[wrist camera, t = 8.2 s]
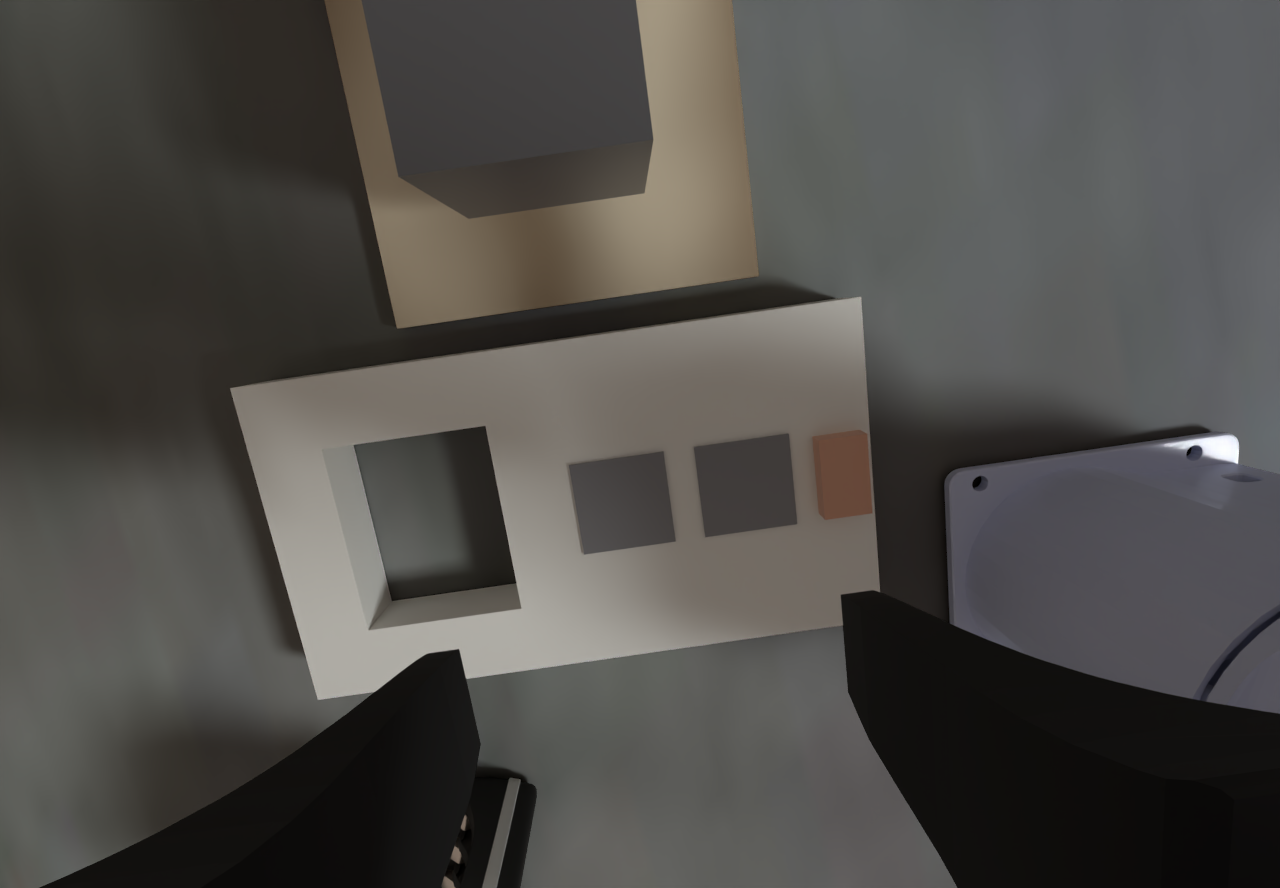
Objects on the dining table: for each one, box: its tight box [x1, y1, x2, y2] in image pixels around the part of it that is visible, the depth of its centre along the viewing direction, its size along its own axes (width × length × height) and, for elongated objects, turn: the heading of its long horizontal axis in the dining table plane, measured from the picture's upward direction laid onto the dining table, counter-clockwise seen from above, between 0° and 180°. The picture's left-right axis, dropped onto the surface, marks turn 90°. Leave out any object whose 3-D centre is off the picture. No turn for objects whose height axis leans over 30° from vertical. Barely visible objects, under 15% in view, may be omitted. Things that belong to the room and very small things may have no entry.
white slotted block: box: [230, 297, 880, 700], centre depth 19 cm, size 18×10×3 cm, turn 98°
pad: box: [324, 0, 759, 329], centre depth 18 cm, size 11×11×1 cm
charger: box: [362, 0, 654, 219], centre depth 14 cm, size 4×6×8 cm
